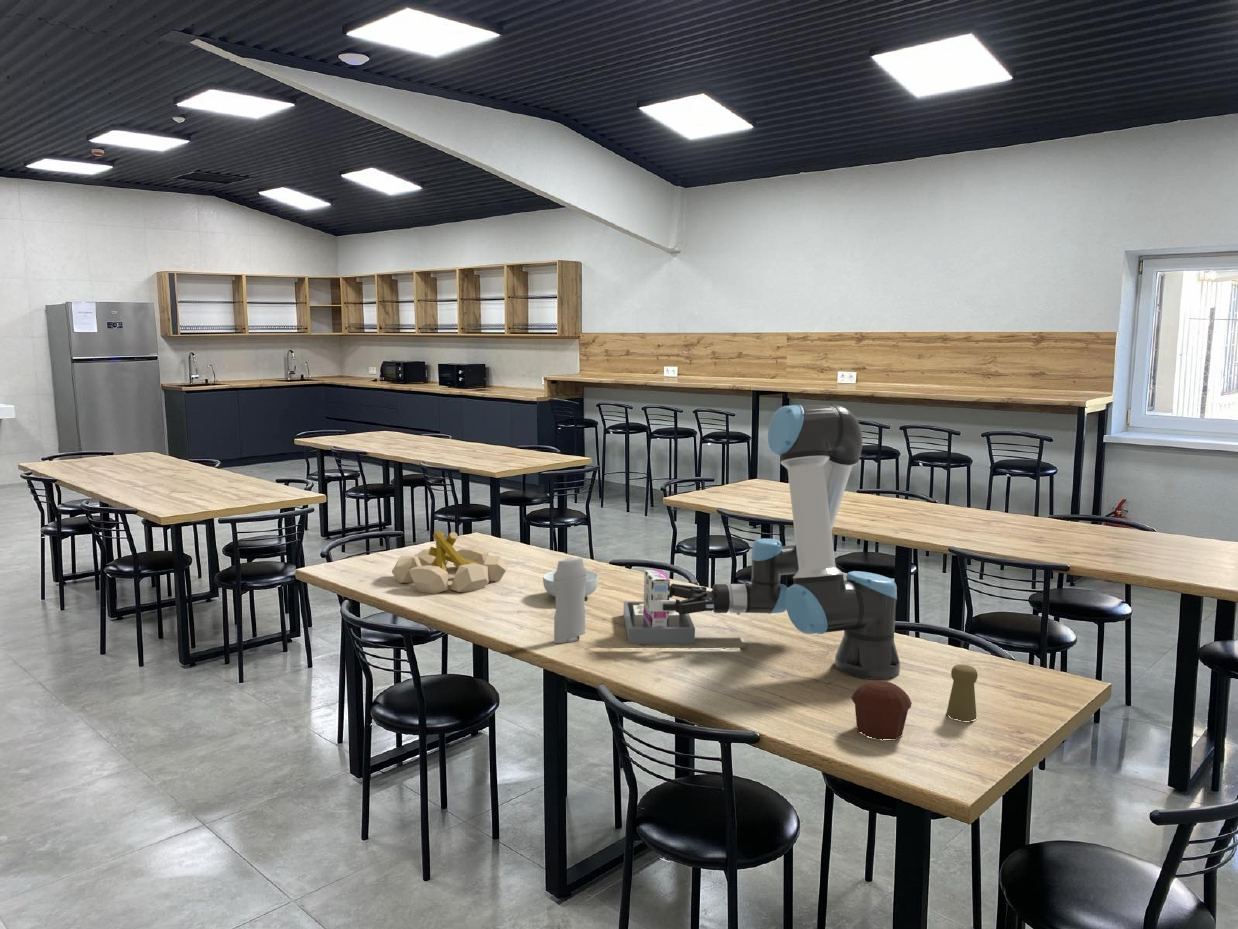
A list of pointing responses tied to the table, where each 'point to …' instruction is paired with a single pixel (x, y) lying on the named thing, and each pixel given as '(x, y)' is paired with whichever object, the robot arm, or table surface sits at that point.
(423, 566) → the campfire
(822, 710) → the table surface
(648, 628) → the tote
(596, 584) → the cereal bowl
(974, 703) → the cork
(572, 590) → the tall pale column
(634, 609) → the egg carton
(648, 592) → the candy bar box
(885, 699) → the muffin
